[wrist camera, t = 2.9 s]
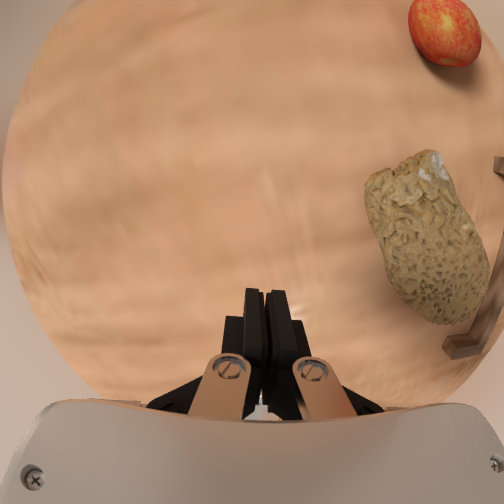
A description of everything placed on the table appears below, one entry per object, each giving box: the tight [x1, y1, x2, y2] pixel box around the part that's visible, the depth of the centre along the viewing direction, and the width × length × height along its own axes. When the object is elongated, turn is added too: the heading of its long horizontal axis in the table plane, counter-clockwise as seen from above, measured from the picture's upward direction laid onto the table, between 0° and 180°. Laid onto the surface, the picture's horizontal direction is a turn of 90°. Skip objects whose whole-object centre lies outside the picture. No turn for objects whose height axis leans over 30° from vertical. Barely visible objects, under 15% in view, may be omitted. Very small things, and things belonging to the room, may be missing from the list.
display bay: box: [442, 156, 504, 360], centre depth 25 cm, size 27×7×3 cm, turn 175°
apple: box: [408, 0, 481, 67], centre depth 14 cm, size 8×8×8 cm
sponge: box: [364, 150, 490, 325], centre depth 23 cm, size 13×8×20 cm
